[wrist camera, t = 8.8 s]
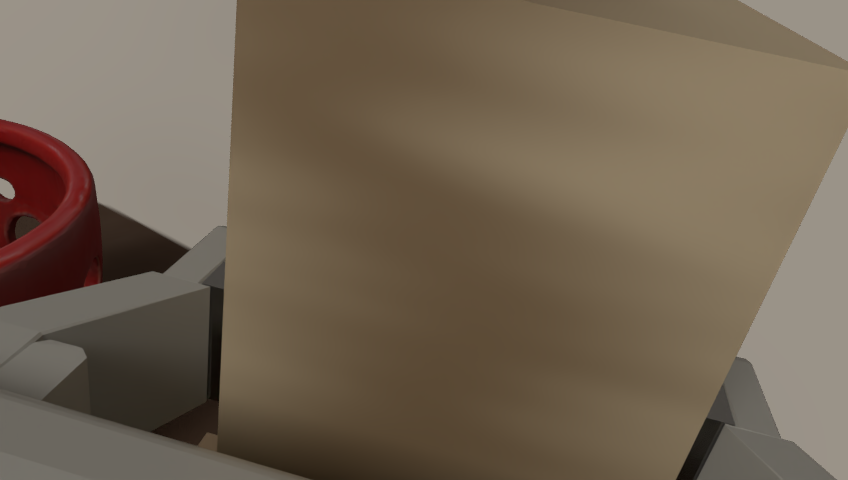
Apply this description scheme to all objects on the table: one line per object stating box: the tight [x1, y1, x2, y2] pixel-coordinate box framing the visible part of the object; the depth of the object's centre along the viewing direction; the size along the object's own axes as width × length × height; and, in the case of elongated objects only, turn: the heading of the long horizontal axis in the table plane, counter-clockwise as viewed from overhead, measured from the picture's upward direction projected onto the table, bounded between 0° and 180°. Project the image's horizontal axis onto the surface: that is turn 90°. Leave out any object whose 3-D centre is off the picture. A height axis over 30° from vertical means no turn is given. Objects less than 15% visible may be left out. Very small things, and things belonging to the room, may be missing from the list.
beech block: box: [217, 0, 848, 480], centre depth 9 cm, size 4×4×12 cm
